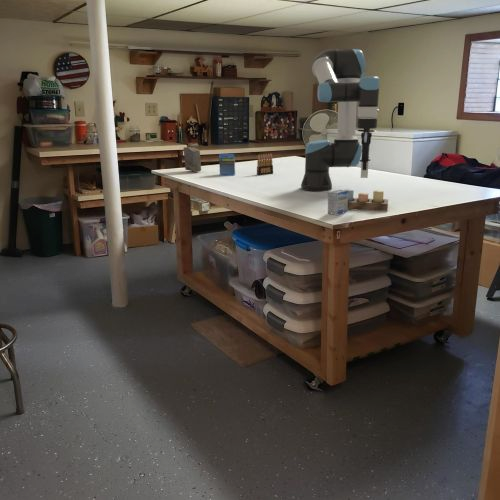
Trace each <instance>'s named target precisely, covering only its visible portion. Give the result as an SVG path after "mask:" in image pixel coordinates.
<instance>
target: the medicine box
mask: <svg viewBox="0 0 500 500" xmlns="http://www.w3.org/2000/svg"><path fill="white" fill-rule="evenodd" d="M347 206H348V191H347V189H337V190H333V191H330V192H327V214H328V213H332V214H331V215H334V214H339V215H341V214H344V213H346V211H347V212H348V209H347ZM343 212H344V213H343ZM340 213H341V214H340Z"/></svg>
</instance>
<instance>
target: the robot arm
mask: <svg viewBox="0 0 500 500" xmlns="http://www.w3.org/2000/svg"><path fill="white" fill-rule="evenodd" d="M365 69H366V61H365V56H364V53H363V51H362V50H361V49H355V48H347V49H346V48H345V49H344V48H343V49H342V48H341V49H326V50H323V51H322V52H319V54H317V55H315V57H314V59H313V60H312V63H311V71H312V74H313V75H314V77H315V78H316V79H317V82H318V84H317V93H316V94H317V100H318V102H321V103H336V102H337V106H338V107H337V135H336V136H335V137H334V138H333V142H331V140H329V139H319V140H313V141H310V142H308V143H306V145H305V151H304V153H305V158H304V159H305V160H304V161H305V165H304V167H305V168H304V176H303V178H302V181H301V184H300V185H301V186H300V189H302V190H304V191H310V192H311V191H312V192H324V191H330V190H332V189H333V184H332V180H331V177H330V168H351V167H352V168H353V167H357V166H358V165H359V163H361V164H360V165H361V166H360V178H361V179H368V175H369V162H370V161H371V159H370V144H371V143H372V141H371V140H372V136H373V132H371V129H372V130H373V129H376V128H377V126H378V124H377V123H378V119H377V117H378V112H380V109H379V108H378V107H379V94H380V87H381V86H380V78H379V76H364V75H365V74H366V73H365V72H366V70H365ZM357 103H358V107H357ZM357 117H358V118H357ZM356 121H357V122H356ZM356 125H357V126H356ZM356 127H357V128H358V129H360V130H361V129H363V130H362V131H363V132H361V135H360V136H361V137H360V138H361V141H359V138H358V137H357V135H356V131H357V130H356V129H357V128H356Z"/></svg>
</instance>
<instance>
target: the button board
mask: <svg viewBox="0 0 500 500" xmlns="http://www.w3.org/2000/svg"><path fill="white" fill-rule="evenodd" d="M388 206H389V198H388V199H387V198H386V199H384V198H383V203H380V202H373V198H368V202H358V197H353V201H348V206H347V210H352V209H357V210H356V211H373V210H374V211H377V212H388V209H389V207H388Z"/></svg>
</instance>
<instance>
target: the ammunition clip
mask: <svg viewBox="0 0 500 500" xmlns="http://www.w3.org/2000/svg"><path fill="white" fill-rule="evenodd" d="M256 164H257V166H256V176H258V177H259V176H267V175H273V174H274V165H273V154H272V153H268V154H267V153H263V154H262V153H261V154H258V155H257V162H256Z"/></svg>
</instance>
